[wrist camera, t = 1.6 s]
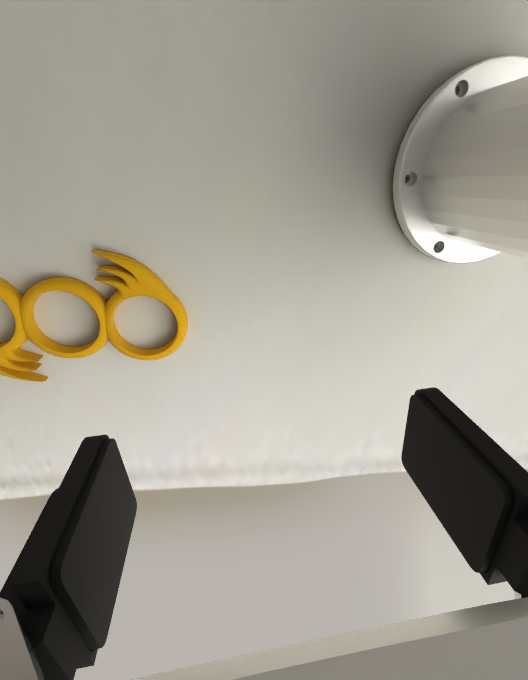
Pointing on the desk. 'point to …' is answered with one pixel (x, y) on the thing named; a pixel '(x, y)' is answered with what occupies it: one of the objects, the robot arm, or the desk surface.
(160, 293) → the yellow triple ring ornament
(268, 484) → the desk surface
